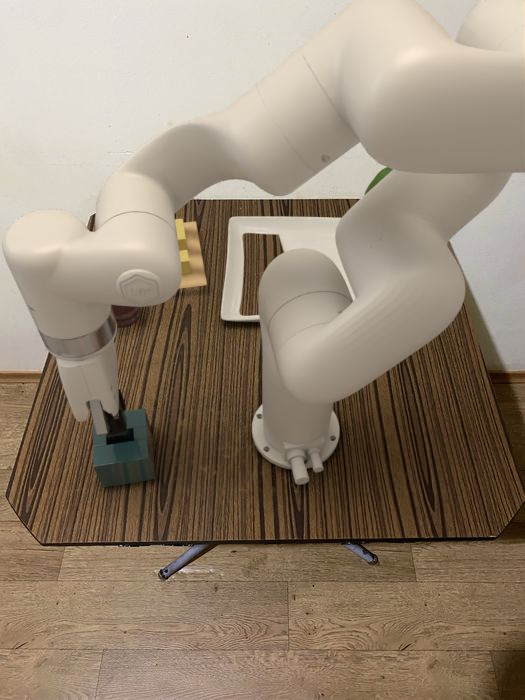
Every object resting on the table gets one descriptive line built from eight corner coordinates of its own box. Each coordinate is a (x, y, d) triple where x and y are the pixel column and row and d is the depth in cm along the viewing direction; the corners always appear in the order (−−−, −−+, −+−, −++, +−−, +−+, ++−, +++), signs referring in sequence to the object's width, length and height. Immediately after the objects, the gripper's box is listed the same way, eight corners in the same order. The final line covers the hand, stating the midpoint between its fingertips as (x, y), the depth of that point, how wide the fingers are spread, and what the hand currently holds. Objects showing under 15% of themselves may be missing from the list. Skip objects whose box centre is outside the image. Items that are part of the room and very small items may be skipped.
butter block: (187, 251, 106) (185, 238, 104) (160, 254, 106) (157, 242, 103) (184, 231, 110) (182, 218, 108) (158, 234, 109) (155, 221, 107)
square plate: (386, 336, 95) (390, 320, 92) (220, 334, 95) (219, 318, 92) (370, 231, 112) (373, 214, 109) (229, 229, 112) (229, 213, 109)
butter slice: (190, 273, 102) (189, 260, 100) (162, 277, 102) (160, 264, 100) (189, 262, 104) (187, 249, 102) (161, 265, 104) (159, 253, 101)
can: (119, 340, 95) (100, 277, 84) (100, 318, 98) (79, 255, 87) (150, 322, 97) (135, 259, 86) (130, 301, 100) (114, 238, 89)
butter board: (207, 290, 102) (207, 284, 101) (150, 298, 101) (149, 292, 99) (196, 227, 113) (195, 221, 112) (145, 233, 112) (144, 227, 111)
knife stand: (155, 479, 79) (148, 457, 74) (103, 487, 78) (92, 466, 73) (151, 431, 84) (144, 408, 79) (102, 438, 83) (93, 415, 78)
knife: (137, 464, 80) (116, 403, 69) (119, 467, 80) (94, 407, 68) (137, 449, 82) (116, 387, 70) (118, 452, 81) (94, 390, 70)
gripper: (44, 275, 64) (84, 375, 78) (34, 392, 53) (83, 482, 68) (113, 266, 64) (140, 367, 79) (116, 380, 54) (147, 472, 69)
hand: (113, 420), depth 73 cm, fingers closed on knife, 2 cm apart
